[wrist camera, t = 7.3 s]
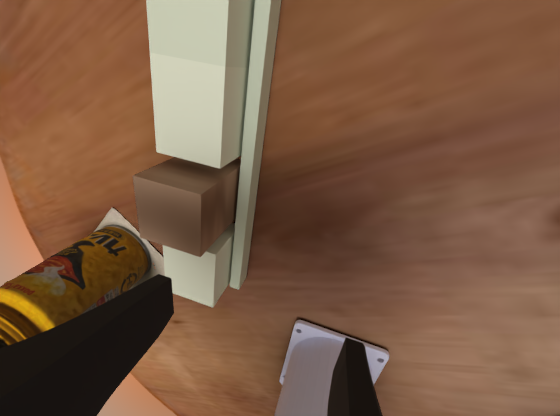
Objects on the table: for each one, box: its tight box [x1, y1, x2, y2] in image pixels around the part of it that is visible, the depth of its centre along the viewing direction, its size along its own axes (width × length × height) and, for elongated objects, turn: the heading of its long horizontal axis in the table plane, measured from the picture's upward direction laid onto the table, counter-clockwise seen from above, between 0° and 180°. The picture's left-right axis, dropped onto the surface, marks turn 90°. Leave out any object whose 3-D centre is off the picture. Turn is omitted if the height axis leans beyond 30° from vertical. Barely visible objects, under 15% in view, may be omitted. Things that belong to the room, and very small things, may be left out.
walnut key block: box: [133, 157, 241, 257], centre depth 17 cm, size 4×4×6 cm
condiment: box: [0, 208, 165, 348], centre depth 22 cm, size 7×8×12 cm
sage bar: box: [146, 0, 281, 307], centre depth 17 cm, size 21×5×4 cm, turn 171°
